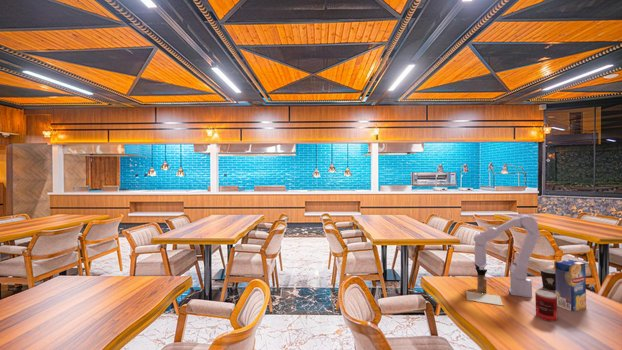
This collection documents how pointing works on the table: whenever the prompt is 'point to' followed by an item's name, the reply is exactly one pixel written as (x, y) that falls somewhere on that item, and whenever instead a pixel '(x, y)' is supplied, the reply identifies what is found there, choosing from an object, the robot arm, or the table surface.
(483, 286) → the walnut block
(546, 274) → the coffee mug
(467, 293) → the mat
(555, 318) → the canned food
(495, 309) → the table surface
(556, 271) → the blue cardboard box
